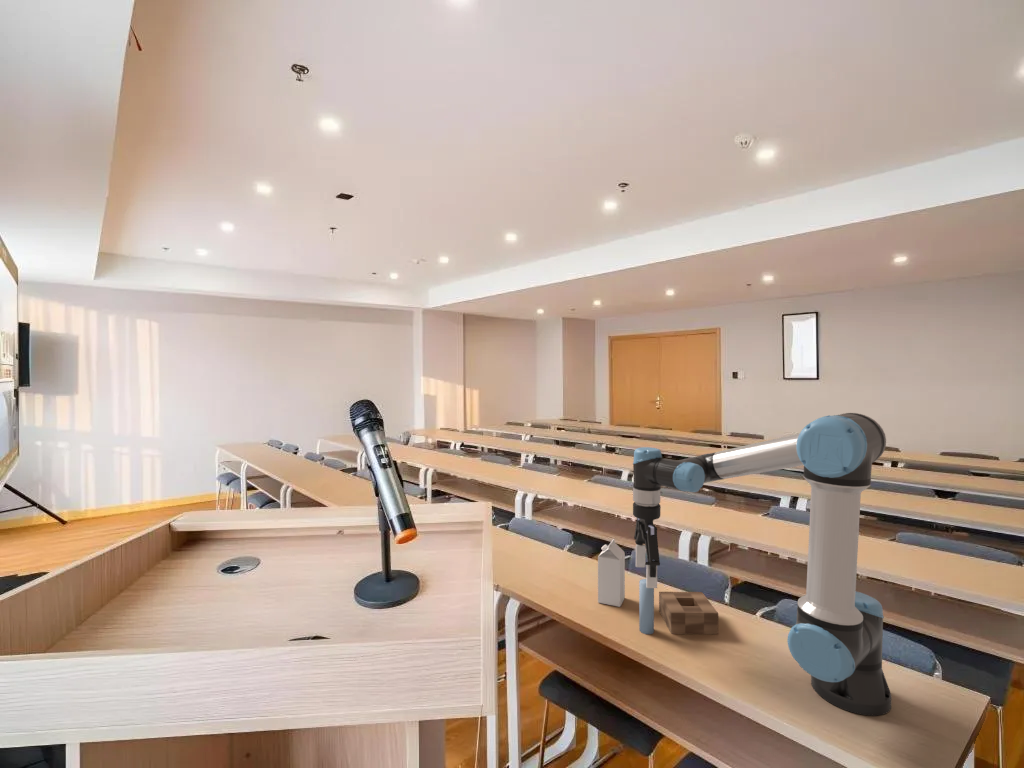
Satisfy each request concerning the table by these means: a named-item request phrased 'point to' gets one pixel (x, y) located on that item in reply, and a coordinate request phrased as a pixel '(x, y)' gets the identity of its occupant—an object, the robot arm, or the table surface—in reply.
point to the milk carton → (611, 575)
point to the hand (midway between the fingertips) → (645, 576)
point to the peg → (646, 608)
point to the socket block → (688, 613)
